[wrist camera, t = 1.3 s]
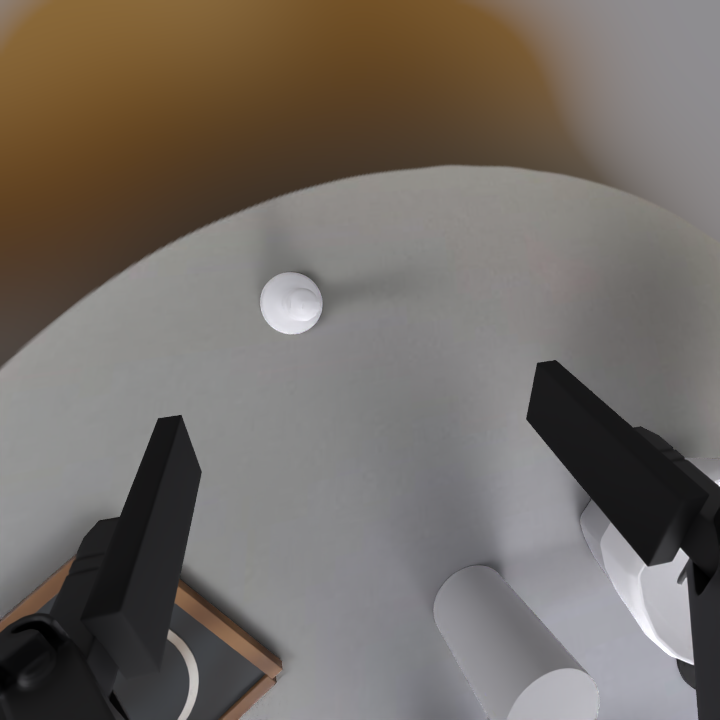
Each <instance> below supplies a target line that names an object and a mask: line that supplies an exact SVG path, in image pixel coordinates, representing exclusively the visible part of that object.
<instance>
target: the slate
mask: <svg viewBox="0 0 720 720" xmlns="http://www.w3.org/2000/svg"><path fill="white" fill-rule="evenodd" d="M76 554H77V553H76ZM76 554H75V555H74V556H73V557H72V558H71V559H70V560H68V561H67V562H66V563H65V564H64V565H63V566H62V567H60V568H59V569H58V570H57V571H56V572H55V573H54V574H52V575H51V576H50V577H49V578H48V579H47V580H45V581H44V582H43V583H42V584H41V585H40V586H39V587H37V588H36V589H35V590H34V591H33V592H32V593H31V594H29V595H28V596H27V597H26V598H25V599H24V600H23V601H21V602H20V603H19V604H18V605H17V606H16V607H14V608H13V609H12V610H11V611H10V612H9V613H8V614H6V615H5V616H4V617H3V618H2V619H1V620H0V632H1V631H2V630H3V629H5V628H6V627H7V626H8V625H10V624H11V623H13V622H15V621H17V620H18V619H20V618H22V617H24V616H27V615H31V614H34V613H47V614H49V613H50V611H51V609H52V606H53V604H54V602H55V600H56V598H57V595H58V593H59V591H60V589H61V587H62V584H63V582H64V580H65V578H66V576H67V575H68V574H69V572H68V571H69V569H70V567H71V565H72V563H73V560H75V559H76V557H75V556H76ZM281 670H282V661H281V660H280V659H279V658H277V657H276V656H275V655H274V654H272V653H271V652H270V651H269V650H267V649H266V648H265V647H264V646H263V645H261V644H260V643H259V642H258V641H256V640H255V639H254V638H253V637H251V636H250V635H249V634H248V633H246V632H245V631H244V630H243V629H241V628H240V627H239V626H238V625H236V624H235V623H234V622H233V621H231V620H230V619H229V618H228V617H227V616H225V615H224V614H223V613H222V612H220V611H219V610H218V609H217V608H215V607H214V606H213V605H212V604H210V603H209V602H208V601H207V600H205V599H204V598H203V597H202V596H200V595H199V594H198V593H197V592H195V591H194V590H193V589H192V588H191V587H189V586H188V585H187V584H186V583H184V582H183V581H182V580H181V579H179V583H178V588H177V593H176V598H175V603H174V607H173V612H172V617H171V622H170V627H169V631H168V636H167V641H166V646H165V651H164V655H163V660H162V665H161V670H160V673H157V674H153V675H148V676H144V677H139V678H134V679H130V680H126V679H125V677H124V676H123V675H122V674H121V672H120V671H119V670H118V672H117V676H116V679H115V683H114V686H113V690H114V691H115V692H116V694H117V696H118V697H119V699H120V701H121V703H122V704H123V706H124V708H125V710H126V712H127V713H128V715H129V717H130V719H131V720H238V719H239V718H240V717H241V716H242V715H243V714H244V713H246V712H247V711H248V710H249V709H250V708H251V707H252V706H253V705H254V704H255V703H256V702H257V701H258V700H259V699H260V698H261V697H262V696H263V695H264V694H265V693H266V692H267V691H268V690H269V689H271V688H272V687H273V686H274V685H275V684H276V675H277V674H278V673H279V672H280V671H281Z"/></svg>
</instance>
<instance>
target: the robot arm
mask: <svg viewBox="0 0 720 720" xmlns="http://www.w3.org/2000/svg"><path fill="white" fill-rule="evenodd" d="M526 420H527V421H528V422H529V423H530V424H531V426H532V427H533V428H534V429H535V430H536V432H537V433H538V434H539V435H540V437H541V438H542V439H543V440H544V441H545V443H546V444H547V445H548V446H549V447H550V449H551V450H552V451H553V452H554V454H555V455H556V456H557V457H558V458H559V460H560V461H561V462H562V463H563V464H564V466H565V467H566V468H567V469H568V471H569V472H570V473H571V474H572V475H573V477H574V478H575V479H576V480H577V482H578V483H579V484H580V485H581V486H582V488H583V489H584V490H585V491H586V492H587V494H588V495H589V496H590V497H591V499H592V500H593V501H594V502H595V503H596V505H597V506H598V507H599V508H600V509H601V511H602V512H603V513H604V514H605V516H606V517H607V518H608V519H609V520H610V522H611V523H612V524H613V525H614V526H615V528H616V529H617V530H618V531H619V533H620V534H621V535H622V536H623V537H624V539H625V540H626V541H627V542H628V543H629V545H630V546H631V547H632V548H633V550H634V551H635V552H636V553H637V554H638V556H639V557H640V558H641V559H642V560H643V562H644V563H645V564H646V565H647V567H650V566H655V565H659V564H664V563H668V562H672V561H673V559H674V558H675V556H676V554H677V552H678V550H679V549H680V548H681V549H682V550H683V551H684V553H685V554H686V555H687V556H688V557H689V559H688V561H687V563H686V565H685V566H684V568H683V570H682V571H681V573H680V575H679V576H678V580H677V584H680V585H682V583H683V582H684V580H685V578H687V584H688V596H689V609H690V621H691V633H692V646H693V658H694V670H695V683H696V695H697V707H698V720H720V486H719V485H717V484H716V483H715V482H714V481H713V480H711V479H710V478H709V477H708V476H707V475H705V474H704V473H703V472H702V471H701V470H699V469H698V468H697V467H696V466H695V465H693V464H692V463H691V462H690V461H689V460H685V457H684V456H683V455H681V454H680V453H679V452H678V451H677V450H674V449H673V447H672V446H671V445H670V444H668V443H667V442H666V441H665V440H664V439H662V438H661V437H660V436H659V435H657V434H655V433H653V432H651V431H649V430H647V429H645V428H643V427H641V426H640V427H634V428H633V427H632V426H631V425H629V424H628V423H627V422H626V421H625V420H624V419H623V418H621V417H620V416H619V415H618V414H617V413H616V412H615V411H613V410H612V409H611V408H610V407H609V406H608V405H607V404H605V403H604V402H603V401H602V400H601V399H600V398H599V397H597V396H596V395H595V394H594V393H593V392H592V391H591V390H589V389H588V388H587V387H586V386H585V385H584V384H583V383H581V382H580V381H579V380H578V379H577V378H576V377H575V376H573V375H572V374H571V373H570V372H569V371H568V370H567V369H565V368H564V367H563V366H562V365H561V364H560V363H559V362H557V361H556V360H553V361H546V362H540V363H537V367H536V372H535V377H534V382H533V387H532V392H531V397H530V402H529V407H528V412H527V418H526ZM201 473H202V472H201V469H200V466H199V463H198V460H197V458H196V455H195V452H194V449H193V446H192V443H191V441H190V438H189V435H188V432H187V429H186V427H185V424H184V421H183V418H182V415H178V416H171V417H164V418H158V420H157V423H156V425H155V428H154V430H153V433H152V436H151V438H150V441H149V443H148V446H147V448H146V451H145V454H144V456H143V459H142V461H141V464H140V466H139V469H138V472H137V474H136V477H135V479H134V482H133V484H132V487H131V489H130V492H129V495H128V497H127V500H126V502H125V505H124V507H123V510H122V513H121V515H120V517H117V518H111V519H105V520H99V521H98V522H97V523H96V524H95V526H94V527H93V528H92V529H91V530H90V531H89V532H88V534H87V535H86V536H85V537H84V538H83V541H82V543H81V545H80V547H79V549H78V552H77V554H76V556H75V557H76V559H75V560H73V563H72V565H71V567H70V569H69V571H68V572H69V574H68V575H67V576H66V578H65V580H64V582H63V584H62V587H61V589H60V591H59V593H58V595H57V598H56V600H55V602H54V604H53V606H52V609H51V611H50V613H49V614H47V613H34V614H31V615H27V616H24V617H22V618H20V619H18V620H17V621H15V622H13V623H11V624H10V625H8V626H7V627H6V628H5V629H3V630H2V631H1V632H0V720H131V719H130V717H129V715H128V713H127V712H126V710H125V708H124V706H123V704H122V703H121V701H120V699H119V697H118V696H117V694H116V692H115V691H114V690H113V686H114V683H115V679H116V676H117V672H118V670H119V671H120V672H121V674H122V675H123V676H124V677H125V679H126V680H130V679H134V678H139V677H144V676H148V675H153V674H157V673H160V670H161V665H162V660H163V655H164V651H165V646H166V641H167V636H168V631H169V627H170V622H171V617H172V612H173V607H174V603H175V598H176V593H177V588H178V583H179V579H180V574H181V569H182V564H183V559H184V555H185V550H186V545H187V540H188V536H189V531H190V526H191V521H192V516H193V512H194V507H195V502H196V497H197V492H198V488H199V483H200V478H201Z"/></svg>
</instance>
